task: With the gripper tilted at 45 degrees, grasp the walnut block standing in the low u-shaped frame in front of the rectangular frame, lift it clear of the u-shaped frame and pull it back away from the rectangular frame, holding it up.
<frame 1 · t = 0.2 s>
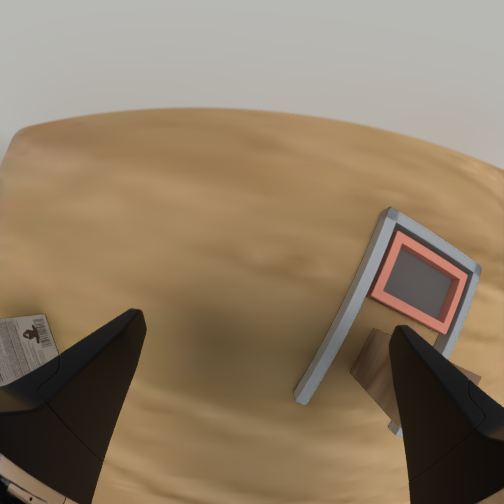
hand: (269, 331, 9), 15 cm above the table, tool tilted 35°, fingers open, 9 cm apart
u-shaped frame: (381, 359, 23), on the table
coffee box: (33, 346, 25), on the table
walnut block: (406, 376, 17), in the u-shaped frame
rectangular frame: (420, 284, 22), in the u-shaped frame
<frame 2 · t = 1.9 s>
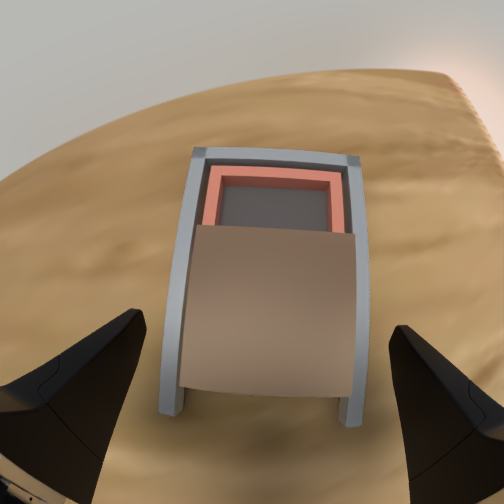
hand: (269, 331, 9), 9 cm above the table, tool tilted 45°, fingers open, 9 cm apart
u-shaped frame: (267, 328, 18), on the table
walnut block: (268, 323, 13), in the u-shaped frame
rectangular frame: (274, 212, 19), in the u-shaped frame
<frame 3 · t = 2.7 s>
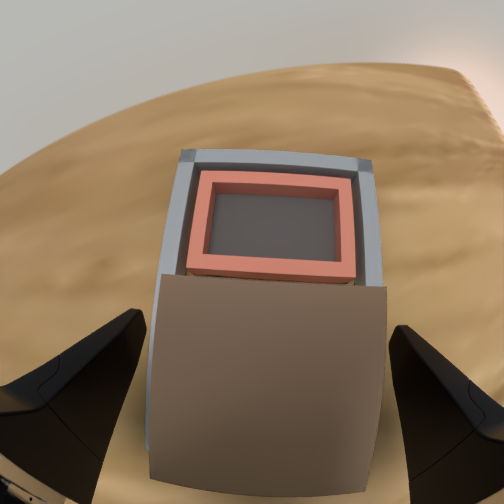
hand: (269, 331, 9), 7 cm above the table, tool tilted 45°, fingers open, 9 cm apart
u-shaped frame: (265, 358, 15), on the table
walnut block: (265, 369, 10), in the u-shaped frame
rectangular frame: (273, 225, 17), in the u-shaped frame
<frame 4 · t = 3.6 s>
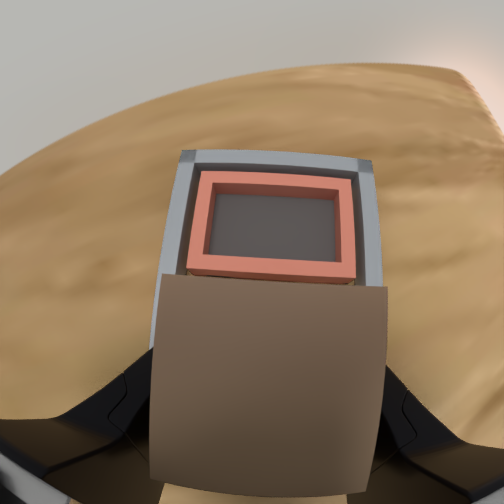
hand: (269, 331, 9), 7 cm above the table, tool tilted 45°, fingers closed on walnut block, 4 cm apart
u-shaped frame: (265, 359, 15), on the table
walnut block: (265, 369, 10), in the u-shaped frame, touching gripper
rectangular frame: (273, 225, 17), in the u-shaped frame
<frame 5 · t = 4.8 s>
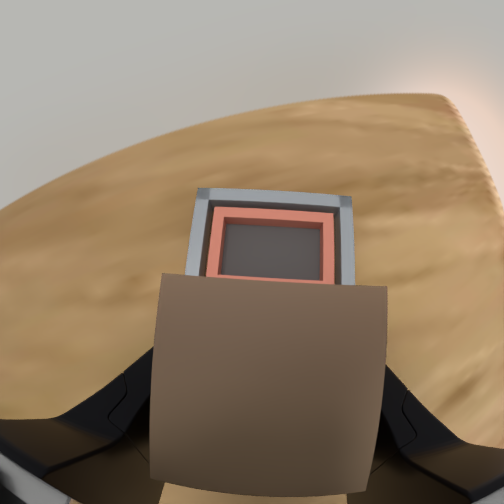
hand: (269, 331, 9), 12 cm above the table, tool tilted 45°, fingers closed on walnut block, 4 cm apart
u-shaped frame: (265, 353, 20), on the table
walnut block: (265, 369, 10), point 11 cm above the table, touching gripper
rectangular frame: (271, 251, 21), in the u-shaped frame
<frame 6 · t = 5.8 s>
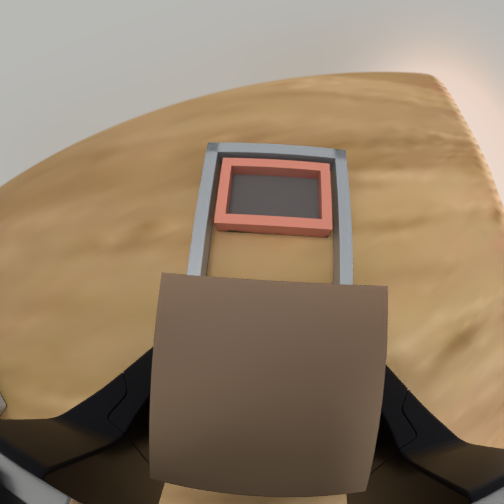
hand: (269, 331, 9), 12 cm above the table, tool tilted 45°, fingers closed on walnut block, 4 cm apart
u-shaped frame: (269, 289, 22), on the table
walnut block: (266, 368, 10), point 11 cm above the table, touching gripper
rectangular frame: (274, 195, 23), in the u-shaped frame
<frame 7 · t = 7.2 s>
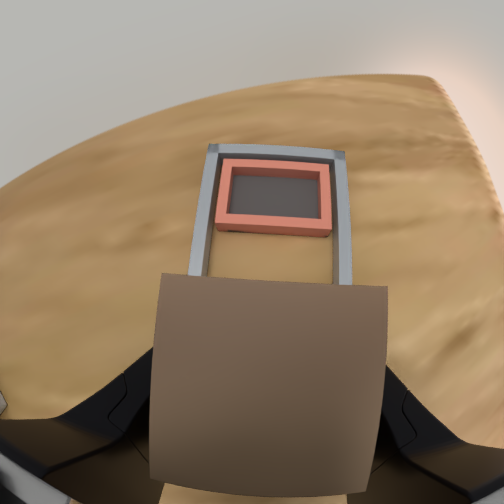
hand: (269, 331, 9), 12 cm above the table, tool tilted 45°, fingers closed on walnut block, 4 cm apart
u-shaped frame: (269, 288, 22), on the table
walnut block: (265, 369, 10), point 11 cm above the table, touching gripper
rectangular frame: (274, 196, 24), in the u-shaped frame
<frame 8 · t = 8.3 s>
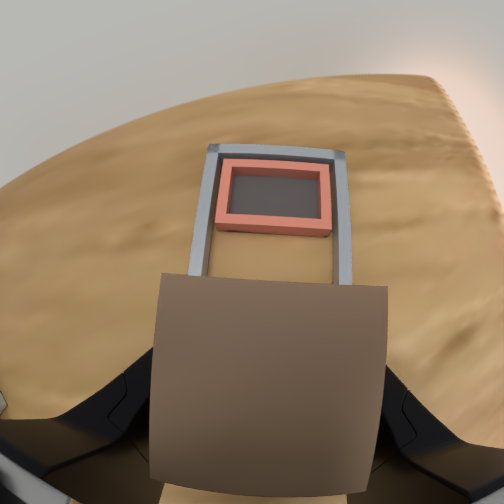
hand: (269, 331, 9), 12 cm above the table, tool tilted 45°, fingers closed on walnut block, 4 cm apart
u-shaped frame: (269, 288, 22), on the table
walnut block: (265, 369, 10), point 11 cm above the table, touching gripper
rectangular frame: (274, 196, 24), in the u-shaped frame
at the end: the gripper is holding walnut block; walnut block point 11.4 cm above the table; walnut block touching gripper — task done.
